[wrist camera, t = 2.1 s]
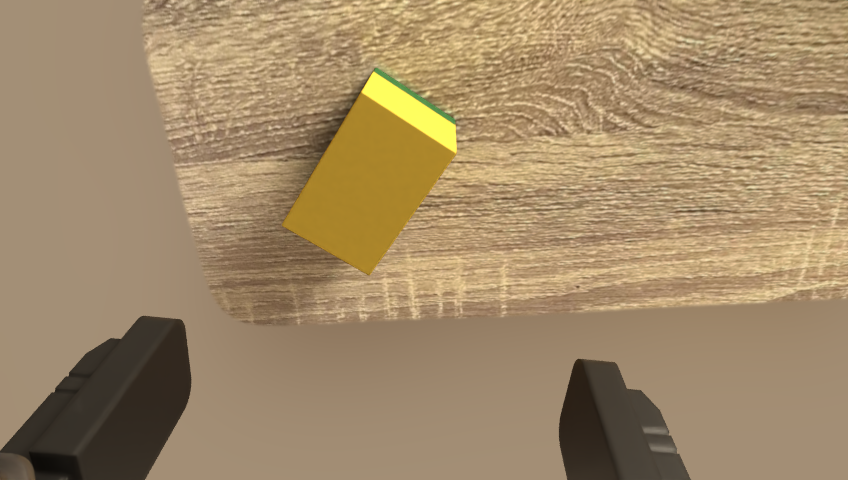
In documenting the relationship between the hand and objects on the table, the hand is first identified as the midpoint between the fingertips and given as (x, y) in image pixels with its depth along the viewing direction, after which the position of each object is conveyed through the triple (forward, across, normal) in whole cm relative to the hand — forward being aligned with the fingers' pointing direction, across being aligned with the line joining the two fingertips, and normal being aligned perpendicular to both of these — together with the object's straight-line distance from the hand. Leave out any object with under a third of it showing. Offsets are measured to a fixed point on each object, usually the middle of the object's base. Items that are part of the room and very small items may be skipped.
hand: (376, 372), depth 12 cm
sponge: (+18, +2, +2) cm, 18 cm away
